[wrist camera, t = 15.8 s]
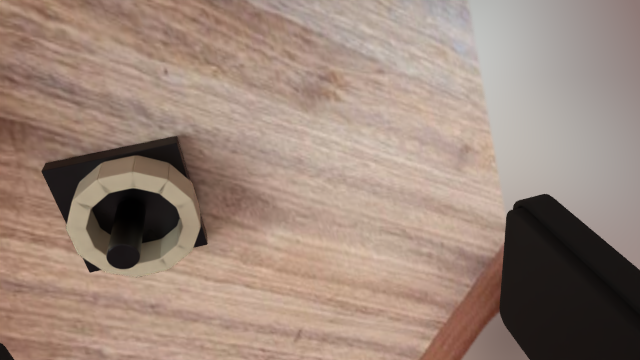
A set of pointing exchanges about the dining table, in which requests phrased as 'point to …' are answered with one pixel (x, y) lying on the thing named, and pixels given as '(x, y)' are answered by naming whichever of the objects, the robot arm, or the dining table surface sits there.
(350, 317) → the dining table surface
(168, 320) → the dining table surface
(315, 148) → the dining table surface
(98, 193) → the tape roll
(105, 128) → the dining table surface
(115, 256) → the peg stand
